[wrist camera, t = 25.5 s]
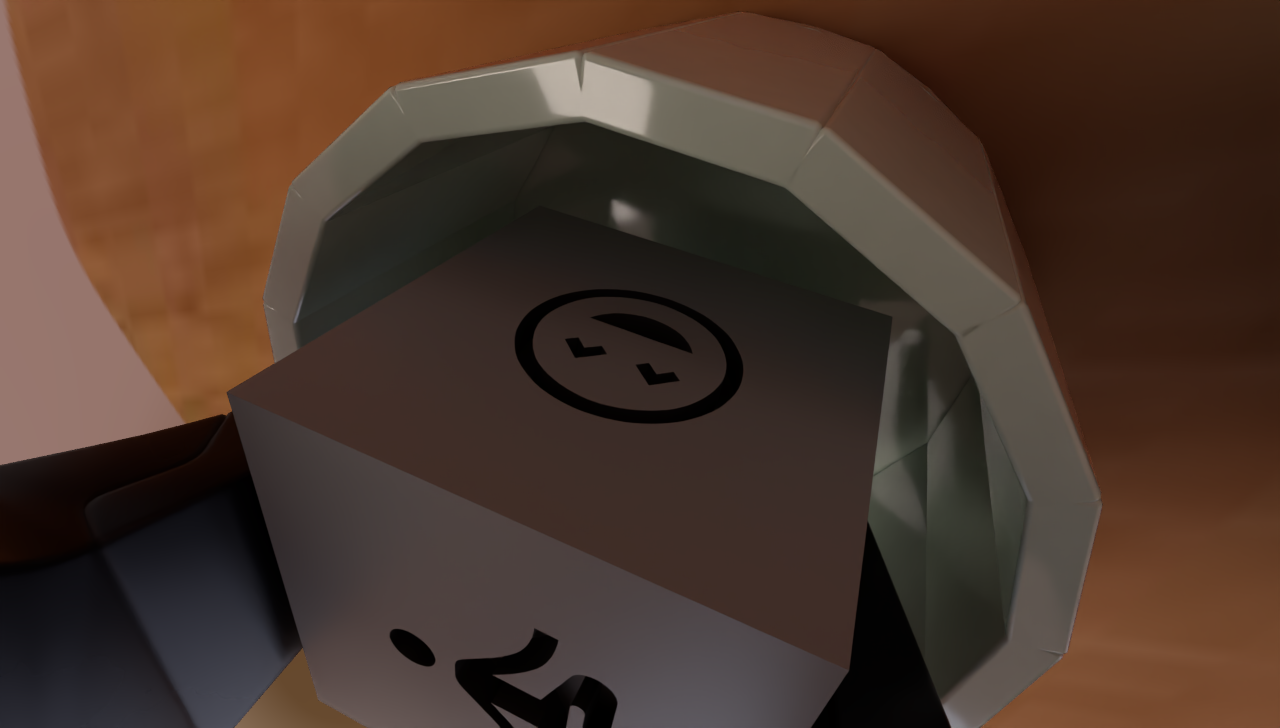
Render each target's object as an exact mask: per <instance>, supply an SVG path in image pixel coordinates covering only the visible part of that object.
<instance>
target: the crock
mask: <svg viewBox="0 0 1280 728" xmlns="http://www.w3.org/2000/svg"><path fill="white" fill-rule="evenodd" d="M539 205H540V206H543V207H546V208H549V209H552V210H556V211H559V212H562V213H565V214H568V215H571V216H575V217H578V218H581V219H584V220H587V221H590V222H594V223H597V224H600V225H603V226H606V227H610V228H613V229H616V230H619V231H622V232H625V233H629V234H632V235H635V236H638V237H641V238H644V239H648V240H651V241H654V242H657V243H660V244H663V245H667V246H670V247H673V248H676V249H679V250H682V251H686V252H689V253H692V254H695V255H698V256H701V257H705V258H708V259H711V260H714V261H717V262H721V263H724V264H727V265H730V266H733V267H736V268H740V269H743V270H746V271H749V272H752V273H755V274H759V275H762V276H765V277H768V278H771V279H774V280H778V281H781V282H784V283H787V284H790V285H793V286H797V287H800V288H803V289H806V290H809V291H813V292H816V293H819V294H822V295H825V296H828V297H832V298H835V299H838V300H841V301H844V302H847V303H851V304H854V305H857V306H860V307H863V308H866V309H870V310H873V311H876V312H879V313H882V314H885V315H889V316H892V317H893V319H892V327H891V335H890V343H889V351H888V359H887V367H886V375H885V383H884V392H883V400H882V408H881V416H880V424H879V432H878V440H877V448H876V456H875V464H874V472H873V480H872V489H871V497H870V505H869V513H868V522H869V524H870V527H871V529H872V532H873V534H874V537H875V539H876V542H877V544H878V547H879V549H880V552H881V554H882V557H883V559H884V562H885V564H886V566H887V569H888V571H889V574H890V576H891V579H892V581H893V584H894V586H895V589H896V591H897V594H898V596H899V599H900V601H901V604H902V606H903V609H904V611H905V614H906V616H907V619H908V621H909V624H910V626H911V628H912V631H913V633H914V636H915V638H916V641H917V643H918V646H919V648H920V651H921V653H922V656H923V658H924V661H925V663H926V666H927V668H928V671H929V673H930V676H931V678H932V681H933V683H934V685H935V688H936V690H937V693H938V695H939V698H940V700H941V703H942V705H943V708H944V710H945V713H946V715H947V718H948V720H949V723H950V725H951V728H981V727H982V726H983V725H984V724H985V723H986V722H988V721H989V720H990V719H991V718H992V717H994V716H995V715H996V714H997V713H998V712H999V711H1001V710H1002V709H1003V708H1004V707H1005V706H1006V705H1008V704H1009V703H1010V702H1011V701H1012V700H1014V699H1015V698H1016V697H1017V696H1018V695H1019V694H1021V693H1022V692H1023V691H1024V690H1025V689H1026V688H1028V687H1029V686H1030V685H1031V684H1032V683H1034V682H1035V681H1036V680H1037V679H1038V678H1039V677H1041V676H1042V675H1043V674H1044V673H1045V672H1047V671H1048V670H1049V669H1050V668H1051V667H1052V666H1054V665H1055V664H1056V663H1057V662H1058V661H1059V660H1061V659H1062V657H1063V654H1066V653H1067V651H1068V648H1069V644H1070V640H1071V636H1072V631H1073V627H1074V623H1075V619H1076V615H1077V611H1078V606H1079V602H1080V598H1081V594H1082V590H1083V586H1084V581H1085V577H1086V573H1087V569H1088V565H1089V561H1090V556H1091V552H1092V548H1093V544H1094V540H1095V536H1096V531H1097V527H1098V523H1099V519H1100V515H1101V511H1102V506H1103V503H1102V500H1101V493H1102V492H1101V489H1100V486H1099V483H1098V480H1097V477H1096V474H1095V470H1094V467H1093V464H1092V461H1091V458H1090V455H1089V452H1088V448H1087V445H1086V442H1085V439H1084V436H1083V433H1082V430H1081V426H1080V423H1079V420H1078V417H1077V414H1076V411H1075V408H1074V404H1073V401H1072V398H1071V395H1070V392H1069V389H1068V386H1067V382H1066V379H1065V376H1064V373H1063V370H1062V367H1061V364H1060V360H1059V357H1058V354H1057V351H1056V348H1055V345H1054V342H1053V338H1052V335H1051V332H1050V329H1049V326H1048V323H1047V320H1046V317H1045V313H1044V310H1043V307H1042V304H1041V301H1040V298H1039V295H1038V291H1037V288H1036V285H1035V282H1034V279H1033V276H1032V273H1031V269H1030V266H1029V263H1028V260H1027V257H1026V254H1025V252H1024V249H1023V247H1022V244H1021V241H1020V239H1019V236H1018V234H1017V231H1016V228H1015V226H1014V223H1013V221H1012V218H1011V215H1010V213H1009V210H1008V208H1007V205H1006V202H1005V199H1004V195H1003V193H1002V191H1001V189H1000V186H999V184H998V181H997V179H996V176H995V174H994V171H993V168H992V166H991V163H990V161H989V158H988V155H987V153H986V150H985V147H984V145H983V144H981V143H980V140H979V138H978V137H977V136H976V135H975V134H973V133H972V132H971V131H970V130H969V129H968V128H967V127H966V126H964V125H963V124H962V122H961V121H960V120H959V119H958V118H957V117H956V116H955V115H954V114H953V113H952V111H951V110H950V109H949V108H948V107H947V106H946V105H945V104H944V103H943V102H942V101H941V100H940V99H939V98H938V97H937V96H936V95H935V94H934V93H933V92H932V91H931V90H930V89H929V88H928V87H927V86H925V85H924V84H923V83H921V82H920V81H919V80H917V79H916V78H915V77H914V76H912V75H911V74H910V73H908V72H907V71H906V70H904V69H903V68H902V67H900V66H899V65H898V64H896V63H895V62H894V61H892V60H890V59H889V58H888V57H887V56H886V55H885V54H884V53H883V52H882V51H880V50H878V49H877V50H875V48H874V47H873V46H870V45H866V44H862V43H859V42H857V41H855V40H852V39H849V38H846V37H843V36H841V35H838V34H835V33H832V32H830V31H827V30H824V29H821V28H819V27H816V26H812V25H807V24H802V23H797V22H792V21H787V20H782V19H776V18H770V17H765V16H762V15H758V14H754V13H751V12H743V13H742V12H740V11H738V12H732V13H727V14H722V15H716V16H711V17H706V18H701V19H695V20H688V21H684V22H680V23H674V24H669V25H664V26H659V27H653V28H648V29H643V30H637V31H632V32H627V33H622V34H617V35H613V36H608V37H604V38H599V39H595V40H590V41H586V42H581V43H577V44H572V45H568V46H563V47H558V48H554V49H549V50H545V51H540V52H536V53H531V54H527V55H522V56H518V57H513V58H509V59H504V60H499V61H495V62H490V63H486V64H481V65H477V66H472V67H468V68H463V69H459V70H454V71H449V72H445V73H440V74H436V75H431V76H427V77H422V78H418V79H413V80H409V81H404V82H400V83H399V84H398V85H396V86H392V87H389V88H388V89H387V90H386V91H385V92H384V93H383V94H382V95H381V96H380V97H379V98H378V99H377V100H376V101H375V102H374V103H373V104H372V105H371V106H370V107H369V108H368V109H367V110H365V111H364V112H363V113H362V114H361V115H360V116H359V117H358V118H357V119H356V120H355V121H354V122H353V123H352V124H351V125H350V126H349V127H348V128H347V129H346V130H345V131H344V132H343V133H342V134H341V135H340V136H338V137H337V138H336V139H335V140H334V141H333V142H332V143H331V144H330V145H329V146H328V147H327V148H326V149H325V150H324V151H323V152H322V153H321V154H320V155H319V156H318V157H317V158H316V159H315V160H314V161H313V162H311V163H310V164H309V165H308V166H307V167H306V168H305V169H304V170H303V171H302V172H301V173H300V174H299V175H298V176H297V177H296V178H295V179H294V180H293V181H292V185H290V187H289V189H288V193H287V198H286V202H285V206H284V210H283V214H282V219H281V223H280V227H279V231H278V236H277V240H276V244H275V248H274V253H273V257H272V261H271V265H270V269H269V274H268V278H267V282H266V286H265V291H264V295H263V300H264V304H263V306H264V311H265V316H266V321H267V326H268V332H269V337H270V342H271V347H272V352H273V357H274V362H275V363H276V362H278V361H280V360H281V359H283V358H285V357H286V356H288V355H290V354H291V353H293V352H295V351H296V350H298V349H300V348H301V347H303V346H305V345H306V344H308V343H310V342H311V341H313V340H315V339H316V338H318V337H320V336H321V335H323V334H325V333H326V332H328V331H330V330H332V329H333V328H335V327H337V326H338V325H340V324H342V323H343V322H345V321H347V320H348V319H350V318H352V317H353V316H355V315H357V314H358V313H360V312H362V311H363V310H365V309H367V308H368V307H370V306H372V305H373V304H375V303H377V302H378V301H380V300H382V299H383V298H385V297H387V296H389V295H390V294H392V293H394V292H395V291H397V290H399V289H400V288H402V287H404V286H405V285H407V284H409V283H410V282H412V281H414V280H415V279H417V278H419V277H420V276H422V275H424V274H425V273H427V272H429V271H430V270H432V269H434V268H435V267H437V266H439V265H440V264H442V263H444V262H445V261H447V260H449V259H451V258H452V257H454V256H456V255H457V254H459V253H461V252H462V251H464V250H466V249H467V248H469V247H471V246H472V245H474V244H476V243H477V242H479V241H481V240H482V239H484V238H486V237H487V236H489V235H491V234H492V233H494V232H496V231H497V230H499V229H501V228H502V227H504V226H506V225H507V224H509V223H511V222H513V221H514V220H516V219H518V218H519V217H521V216H523V215H524V214H526V213H528V212H529V211H531V210H533V209H534V208H536V207H538V206H539Z"/></svg>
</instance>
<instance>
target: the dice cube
mask: <svg viewBox="0 0 1280 728" xmlns="http://www.w3.org/2000/svg"><path fill="white" fill-rule="evenodd" d="M892 319H893V317H892V316H889V315H885V314H882V313H879V312H876V311H873V310H870V309H866V308H863V307H860V306H857V305H854V304H851V303H847V302H844V301H841V300H838V299H835V298H832V297H828V296H825V295H822V294H819V293H816V292H813V291H809V290H806V289H803V288H800V287H797V286H793V285H790V284H787V283H784V282H781V281H778V280H774V279H771V278H768V277H765V276H762V275H759V274H755V273H752V272H749V271H746V270H743V269H740V268H736V267H733V266H730V265H727V264H724V263H721V262H717V261H714V260H711V259H708V258H705V257H701V256H698V255H695V254H692V253H689V252H686V251H682V250H679V249H676V248H673V247H670V246H667V245H663V244H660V243H657V242H654V241H651V240H648V239H644V238H641V237H638V236H635V235H632V234H629V233H625V232H622V231H619V230H616V229H613V228H610V227H606V226H603V225H600V224H597V223H594V222H590V221H587V220H584V219H581V218H578V217H575V216H571V215H568V214H565V213H562V212H559V211H556V210H552V209H549V208H546V207H543V206H540V205H539V206H538V207H536V208H534V209H533V210H531V211H529V212H528V213H526V214H524V215H523V216H521V217H519V218H518V219H516V220H514V221H513V222H511V223H509V224H507V225H506V226H504V227H502V228H501V229H499V230H497V231H496V232H494V233H492V234H491V235H489V236H487V237H486V238H484V239H482V240H481V241H479V242H477V243H476V244H474V245H472V246H471V247H469V248H467V249H466V250H464V251H462V252H461V253H459V254H457V255H456V256H454V257H452V258H451V259H449V260H447V261H445V262H444V263H442V264H440V265H439V266H437V267H435V268H434V269H432V270H430V271H429V272H427V273H425V274H424V275H422V276H420V277H419V278H417V279H415V280H414V281H412V282H410V283H409V284H407V285H405V286H404V287H402V288H400V289H399V290H397V291H395V292H394V293H392V294H390V295H389V296H387V297H385V298H383V299H382V300H380V301H378V302H377V303H375V304H373V305H372V306H370V307H368V308H367V309H365V310H363V311H362V312H360V313H358V314H357V315H355V316H353V317H352V318H350V319H348V320H347V321H345V322H343V323H342V324H340V325H338V326H337V327H335V328H333V329H332V330H330V331H328V332H326V333H325V334H323V335H321V336H320V337H318V338H316V339H315V340H313V341H311V342H310V343H308V344H306V345H305V346H303V347H301V348H300V349H298V350H296V351H295V352H293V353H291V354H290V355H288V356H286V357H285V358H283V359H281V360H280V361H278V362H276V363H275V364H273V365H271V366H270V367H268V368H266V369H264V370H263V371H261V372H259V373H258V374H256V375H254V376H253V377H251V378H249V379H248V380H246V381H244V382H243V383H241V384H239V385H238V386H236V387H234V388H233V389H231V390H229V391H228V392H227V395H228V398H229V402H230V405H231V408H232V412H233V415H234V419H235V422H236V425H237V429H238V432H239V435H240V439H241V442H242V445H243V449H244V452H245V455H246V459H247V462H248V465H249V469H250V472H251V475H252V479H253V482H254V486H255V489H256V492H257V496H258V499H259V502H260V506H261V509H262V512H263V516H264V519H265V522H266V526H267V529H268V532H269V536H270V539H271V542H272V546H273V549H274V553H275V556H276V559H277V563H278V566H279V569H280V573H281V576H282V579H283V583H284V586H285V589H286V593H287V596H288V599H289V603H290V606H291V609H292V613H293V616H294V620H295V623H296V626H297V630H298V633H299V636H300V640H301V643H302V646H303V650H304V653H305V656H306V660H307V663H308V666H309V670H310V673H311V677H312V680H313V683H314V686H315V690H316V693H317V696H318V700H320V701H321V702H323V703H325V704H326V705H328V706H330V707H332V708H334V709H335V710H337V711H339V712H341V713H342V714H344V715H346V716H348V717H349V718H351V719H353V720H355V721H356V722H358V723H360V724H362V725H364V726H365V727H367V728H811V727H812V725H813V724H814V722H815V721H816V719H817V718H818V716H819V715H820V713H821V712H822V710H823V709H824V707H825V706H826V704H827V703H828V701H829V700H830V698H831V697H832V695H833V694H834V692H835V691H836V689H837V688H838V686H839V685H840V683H841V682H842V680H843V679H844V677H845V676H846V674H847V673H848V671H849V666H850V658H851V650H852V642H853V634H854V626H855V618H856V610H857V602H858V594H859V586H860V577H861V569H862V561H863V553H864V545H865V537H866V529H867V521H868V513H869V505H870V497H871V489H872V480H873V472H874V464H875V456H876V448H877V440H878V432H879V424H880V416H881V408H882V400H883V392H884V383H885V375H886V367H887V359H888V351H889V343H890V335H891V327H892Z"/></svg>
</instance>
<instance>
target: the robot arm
mask: <svg viewBox="0 0 1280 728" xmlns="http://www.w3.org/2000/svg"><path fill="white" fill-rule="evenodd" d="M302 648H303V646H302V643H301V640H300V636H299V633H298V630H297V626H296V623H295V620H294V616H293V613H292V609H291V606H290V603H289V599H288V596H287V593H286V589H285V586H284V583H283V579H282V576H281V573H280V569H279V566H278V563H277V559H276V556H275V553H274V549H273V546H272V542H271V539H270V536H269V532H268V529H267V526H266V522H265V519H264V516H263V512H262V509H261V506H260V502H259V499H258V496H257V492H256V489H255V486H254V482H253V479H252V475H251V472H250V469H249V465H248V462H247V459H246V455H245V452H244V449H243V445H242V442H241V439H240V435H239V432H238V429H237V425H236V422H235V419H234V415H233V412H230V413H228V414H227V416H226V415H223V414H221V415H217V416H214V417H210V418H206V419H203V420H199V421H195V422H192V423H188V424H184V425H180V426H176V427H172V428H168V429H164V430H160V431H156V432H153V433H149V434H145V435H140V436H135V437H131V438H126V439H122V440H117V441H113V442H108V443H104V444H99V445H95V446H90V447H85V448H80V449H75V450H71V451H66V452H61V453H56V454H52V455H47V456H42V457H38V458H32V459H27V460H23V461H18V462H13V463H8V464H4V465H0V728H234V727H235V726H236V725H237V724H238V723H239V721H240V720H241V719H242V718H243V717H244V716H245V714H246V713H247V712H248V711H249V710H250V709H251V707H252V706H253V705H254V704H255V703H256V701H257V700H258V699H259V698H260V697H261V696H262V695H263V693H264V692H265V691H266V690H267V689H268V688H269V686H270V685H271V684H272V683H273V682H274V681H275V679H276V678H277V677H278V676H279V675H280V674H281V672H282V671H283V670H284V669H285V668H286V667H287V665H288V664H289V663H290V662H291V661H292V660H293V658H294V657H295V656H296V655H297V654H298V653H299V651H300V650H301V649H302ZM811 728H951V725H950V723H949V720H948V718H947V715H946V713H945V710H944V708H943V705H942V703H941V700H940V698H939V695H938V693H937V690H936V688H935V685H934V683H933V681H932V678H931V676H930V673H929V671H928V668H927V666H926V663H925V661H924V658H923V656H922V653H921V651H920V648H919V646H918V643H917V641H916V638H915V636H914V633H913V631H912V628H911V626H910V624H909V621H908V619H907V616H906V614H905V611H904V609H903V606H902V604H901V601H900V599H899V596H898V594H897V591H896V589H895V586H894V584H893V581H892V579H891V576H890V574H889V571H888V569H887V566H886V564H885V562H884V559H883V557H882V554H881V552H880V549H879V547H878V544H877V542H876V539H875V537H874V534H873V532H872V529H871V527H870V524H869V522H868V521H867V529H866V537H865V545H864V553H863V561H862V569H861V577H860V586H859V594H858V602H857V610H856V618H855V626H854V634H853V642H852V650H851V658H850V666H849V671H848V673H847V674H846V676H845V677H844V679H843V680H842V682H841V683H840V685H839V686H838V688H837V689H836V691H835V692H834V694H833V695H832V697H831V698H830V700H829V701H828V703H827V704H826V706H825V707H824V709H823V710H822V712H821V713H820V715H819V716H818V718H817V719H816V721H815V722H814V724H813V725H812V727H811Z"/></svg>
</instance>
